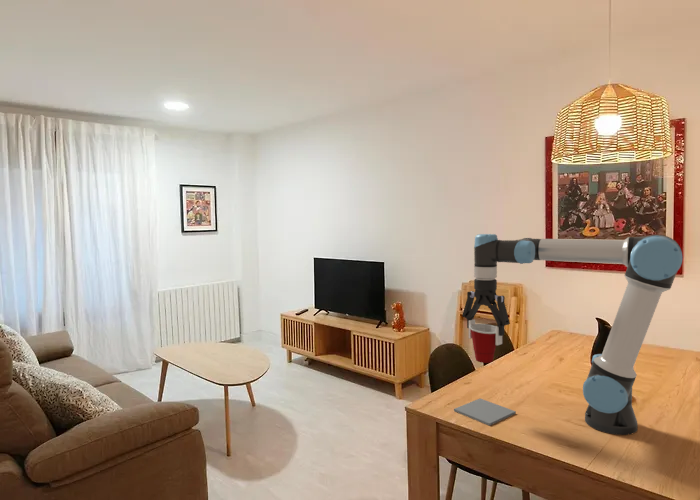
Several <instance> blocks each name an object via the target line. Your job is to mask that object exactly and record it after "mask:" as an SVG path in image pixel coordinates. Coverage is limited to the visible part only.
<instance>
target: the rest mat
mask: <svg viewBox="0 0 700 500" xmlns="http://www.w3.org/2000/svg"><path fill="white" fill-rule="evenodd" d="M453 411H454V412H455V413H458V414H460V415H463V416H465V417H467V418H470V419H472V420H475V421H477V422H479V423H482V424H484V425H487V426H493V425H494V424H496V423H499V422H501V421H502V420H505V419H507V418H509V417H511V416H513V415H515V414H517V413H516V410H513V409H510V408H508V407H505V406H501V405H499V404H497V403H494V402H491V401H488V400H486V399H484V398H477V399H475V400H473V401H470V402H467V403H465V404H462V405H460V406H458V407H455V408H453Z"/></svg>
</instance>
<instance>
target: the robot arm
mask: <svg viewBox="0 0 700 500" xmlns="http://www.w3.org/2000/svg"><path fill="white" fill-rule="evenodd" d="M473 251H474V253H473V254H474V259H473V261H474V265H473V267H474V269H473V274H474V275H473V277H474V278H475V279H473V284H474V285H473V287H474V288H473V289H474V290H471V291H467V293H466V295H467V298H466V300H465V305H464V308H463V311H462V317H463V318H465V319H466V321H467V322H466V323H467V324H466V326H467V329H468V339H470V340H471V339H472V335H471V330H470V328H469V326H470V325H472V324H476V319H475V316H476V315H477V313H478V310H480V307H481V306H485V307H488V309H489V310H490V311H491V314H492V316H493V319H494V321H495V322H496V324H497V325H495V326H496V346H500V345H503V337H504V335H505V326H509V325H510V324H511V323H510V318H509V315H508V311H507V307H506V303H505V299H506V298H505V296H504V295H498V294H497V292H496V291H497V286H498V284H497V283H498V280H497V277H498V271H497V270H498V263H508V264H509V263H512V264H520V265H521V264H532V263H533V262H534V261H552V262H553V261H554V262H570V263H571V262H572V263H575V262H577V263H593V264H594V263H595V264H612V265H616V264H618V265H624V266H625V267H626V271H625V272H624V277H625V279H626V281H627V285H626V287H625V290H624V293H623V295H622V298H621V301H620V304H619V307H618V309H617V311H616V315H615V318H614V320H613V323H612V326H611V329H610V331H609V334H608V336H607V340H606V342H605V345H604V347H603V351H602V353H597V354H594V355H592V359H591V367H590V369H589V372H588V374H587V377H586V379H585V381H584V382H583V385H582V394H583V397H584V399H585V402H587V404H588V405H587V408H586V411H585V412H584V422H585V423H586V424H587V425H588V426H589V427H591V428H592V429H594V430H597V431H599V432H603V433H607V434H612V435H619V436H627V435H628V434H629V435H633V434H635V433H637V431H638V420H637V417H636V414H635V412H634V411H635V410H634V407H633V386H634V383H635V380H636V378H637V376H638V375H637V373H636V371H635V369H634V366H635V363H636V360H638V359H637V358H638V357H639V356H638V355H639V353H640V351H641V348H642V346H643V343H644V340H645V338H646V335H647V332H648V330H649V327H650V325H651V322H652V319H653V317H654V313H655V312H656V309H657V306H658V304H659V301H660V299H661V296H662V294H663V293H664V292H667V291H669V290H671V288H672V285H673V283H674V280H675V278H676V276H677V273H678V271H679V270H680V269H681V267H682V263H683V252H682V248H681V246H680V245H679V243H678V242H677V241H676V240H675V239H673V238H672V237H670V236H667V235H664V234H651V235H647V236H628V237H626V238H625V239H576V238H574V239H569V238H565V239H564V238H532V237H524V238H520V239H515V240H514V239H513V240H512V239H511V240H510V239H509V240H508V239H507V240H501V239H499V238H498V235H497V234H496V233H479V234H476V235H475V237H474V247H473ZM632 433H633V434H632Z"/></svg>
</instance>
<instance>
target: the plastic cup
mask: <svg viewBox="0 0 700 500" xmlns="http://www.w3.org/2000/svg"><path fill="white" fill-rule="evenodd" d="M496 326H497V325H492V324H488V323H487V324H486V323H475V324H472V325H470V326H469V328H470V330H471V335H472V338H471V339H472V346H473V347H472V348H473V352H474V358H475V361H476V362H477V363H484V364H488V363H492V362H494V361H493V360H494V357H495V352H496V347H497V345H496ZM469 328H468V329H469Z"/></svg>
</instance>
